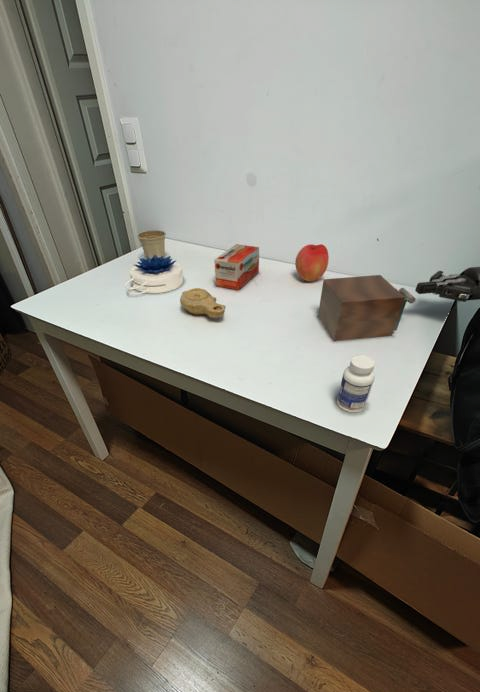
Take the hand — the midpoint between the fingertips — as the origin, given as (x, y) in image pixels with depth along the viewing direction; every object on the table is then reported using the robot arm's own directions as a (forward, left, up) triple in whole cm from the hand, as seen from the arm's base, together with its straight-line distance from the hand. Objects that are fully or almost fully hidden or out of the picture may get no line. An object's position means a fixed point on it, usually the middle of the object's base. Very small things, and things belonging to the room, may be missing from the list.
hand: (417, 288), depth 82 cm
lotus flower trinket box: (+72, -11, -9) cm, 74 cm away
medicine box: (+48, -19, -9) cm, 52 cm away
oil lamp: (+52, +4, -9) cm, 53 cm away
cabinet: (+13, +5, -8) cm, 16 cm away
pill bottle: (+15, +35, -9) cm, 39 cm away
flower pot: (+78, -30, -9) cm, 84 cm away
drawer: (+10, +3, -7) cm, 13 cm away
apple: (+25, -22, -9) cm, 35 cm away
